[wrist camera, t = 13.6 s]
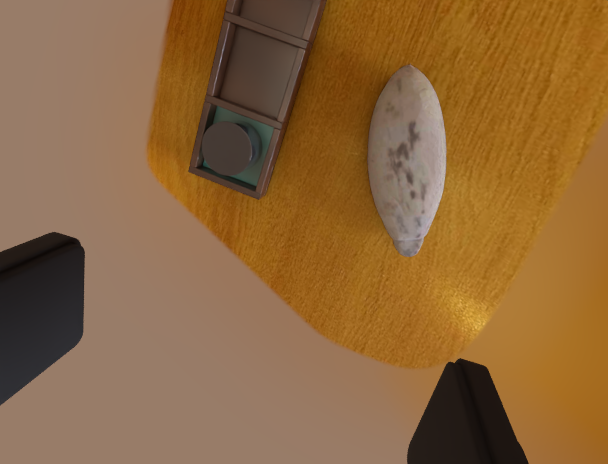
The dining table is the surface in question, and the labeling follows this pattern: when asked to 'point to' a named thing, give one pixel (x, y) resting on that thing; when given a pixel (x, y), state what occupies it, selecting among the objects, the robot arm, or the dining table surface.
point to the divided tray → (257, 80)
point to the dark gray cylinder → (231, 147)
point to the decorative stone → (407, 158)
